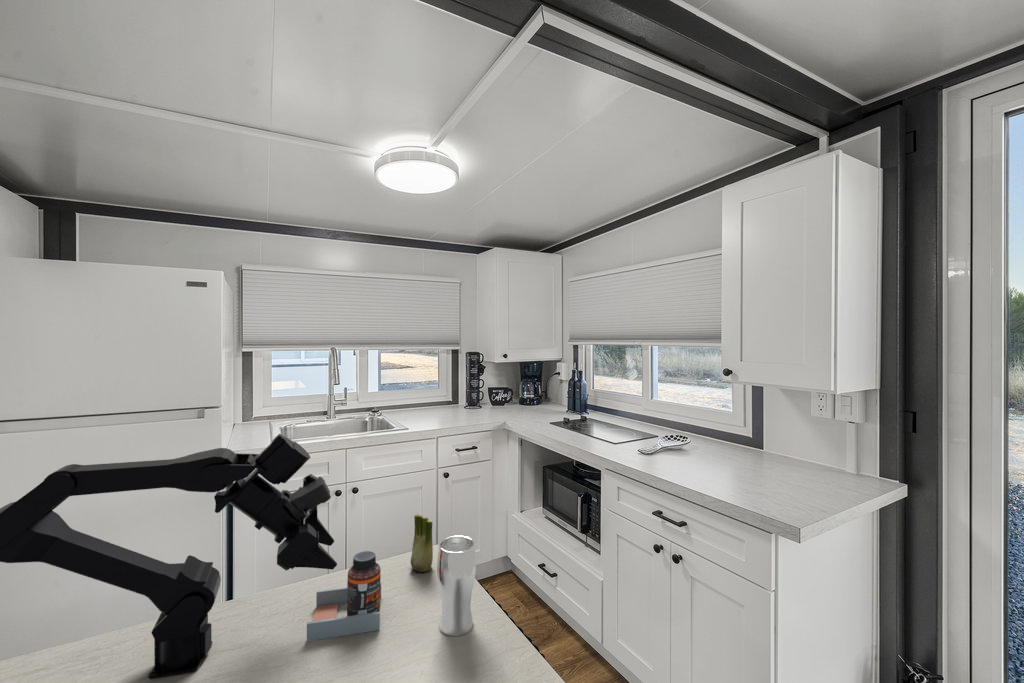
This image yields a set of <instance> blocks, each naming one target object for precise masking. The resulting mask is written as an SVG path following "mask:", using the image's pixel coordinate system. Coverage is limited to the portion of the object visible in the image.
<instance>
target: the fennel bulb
mask: <svg viewBox="0 0 1024 683" xmlns="http://www.w3.org/2000/svg"><path fill="white" fill-rule="evenodd" d="M413 517H414V520H413V521H414V536H413V542H412V550H411V556H410V566H411V568H412V569H413V570H414V571H416V572H418V573H423V572H424V573H425V572H428V571H430V570H431V567H432V564H433V557H434V556H433V553H434V549H433V548H434V546H433V520H432V519H431V520H430V519H429V517H428V516H427V517H425V516H424V517H423V515H421V514H415V515H414V516H413Z"/></svg>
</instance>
